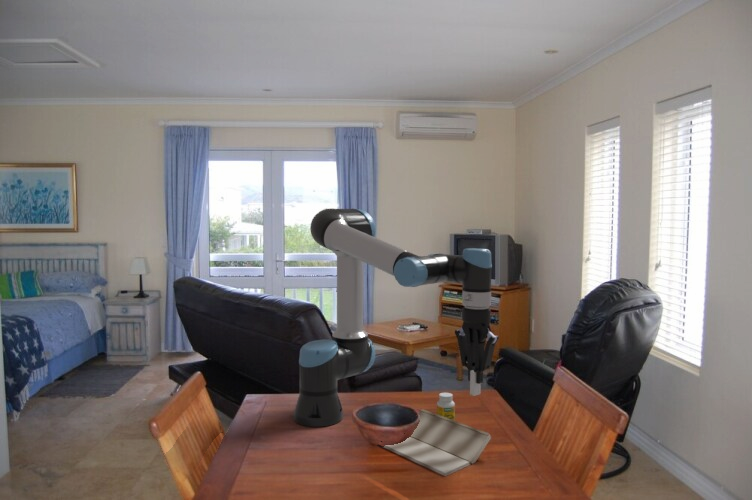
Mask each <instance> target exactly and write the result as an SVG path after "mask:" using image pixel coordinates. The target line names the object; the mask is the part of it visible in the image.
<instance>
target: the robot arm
mask: <svg viewBox="0 0 752 500" xmlns="http://www.w3.org/2000/svg"><path fill="white" fill-rule="evenodd" d="M309 229H310V230H309V231H310V234H311V237H312V239H313V240H314V241H315V242H316V244H318V245H319V246H321V247H323V248H325V249H327V250H329V251H332V252H333V253H334V254H335V256H336V329H335V331H333V332H332V337H331V338H332V339H329V338H327V339H324V338H322V339H315V340H313V341H308V342H306V343H305V344H303V345H302V346H301V347H300V350H299V358H298V365H299V367H298V368H299V395H298V398H297V400H296V404H295V408H294V410H293V421H294V422H295V423H297V424H298V425H301V426H306V427H311V428H312V427H315V428H320V427H328V426H331V425H335V424H338V423H339V422H341V421H342V420H343V418H344V409H343V406H342V403H341V400H340V397H339V393H338V381H340V380H342V379H346V378H349V377H353V376H358V375H361V374H363V373H365V372H367V371H368V370H369V369H371V367H372V366H373V365H374V363H375V359H376V348H375V345H374V344H373V341H372V340H371V339H370V338H369V333H368V332H367V331H366V330H364V263H365V264H368V265H370V266H371V267H373V268H376V269H378V270H381V271H382V272H384V273H386V274H389V275H391V276H393V277H394V279H395V281H396V282H397V283H398V284H399V285H400V286H402V287H404V288H405V287H406V288H416V287H420V286H426V285H434V284H439V283H440V284H441V283H457V284H461V286H462V287H461V288H462V293H461V294H462V298H461V299H462V301H461V302H462V303H461V304H462V306H463V307H462V308H461V320H462V321H463V322H462V325H461V327H460V328H459V329H454V335H455V336H456V339H457V343H458V344H457V345H458V348H459V349H458V350H459V354H460V355H459V356H460V360H461V361H460V362H461V366H462V367H465V368H467V370H468V371H467V372H468V373H467V379H468V382H469V396H472V397H475V396H478V395H481V394H482V393H481V391H482V389H481V388H482V387H481V386H482V384H483V382H484V371H488V370H490V368H491V364H492V360H493V356H494V351H495V347H496V344H497V343H498V342H499V339H500V337H499V335H497V334H496V335H495V334H494V333H493V332H492V328H491V326H490V325H491V324H490V323H491V321H492V318H491V317H492V310H491V306H492V267H493V264H492V252H491V250H490V249H488V248H476V247H475V248H472V247H471V248H469V247H468V248H464V249H463V250H462V254H461V255H458V254H445V253H431V254H428V255H424V256H422V255H421V256H420V255H417V254H415V253H413V252H410V251H408V250H405V249H403V248H401V247H398V246H396V245H393V244H391V243H389V242H386V241H385V240H382V239H380V238H377V237H375V236H376V231H377V230H376V224H375V220H374V219H373V217H372V216H371V215H370V213H368V212H367V211H365V210H363V209H357V208H324V209H322V210H320V211H318V212H317V213H316V214H315V215H314V216H313V218H312V219H311V223H310V228H309Z"/></svg>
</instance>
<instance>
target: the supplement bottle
mask: <svg viewBox="0 0 752 500" xmlns="http://www.w3.org/2000/svg"><path fill="white" fill-rule="evenodd" d="M453 397H454V395H453V393H451V392H441V393H439V394H438V399H439V400H438V401H437V402H436V414H438V415H440V416H443V417H446V418H449V419H451V420H454V421H456V419H455V418H456V417H455V416H456V413H455V412H456V403H455V402H454V400H453Z"/></svg>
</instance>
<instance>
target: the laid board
mask: <svg viewBox="0 0 752 500" xmlns="http://www.w3.org/2000/svg"><path fill="white" fill-rule="evenodd" d="M383 448H384V449H386V450H388V451H390V452H392V453H395V454H397V455H399V456H401V457H403V458H405V459H408V460H410V461H412V462H414V463H416V464H418V465H420V466H423V467H424V468H427V469H429V470H431V471H433V472H435V473H437V474H439V475H442V476H444V477H447V476H450V475H451V474H453V473H455V472H458V471H460V470H462V469H464V468H466V467H468V466H470V465H472V463H469V462H468V461H466V460H463V459H461V458H459V457H456V456H454V455H452V454H449V453H447V452H445V451H442V450H440V449H437V448H435V447H433V446H430V445H428V444H426V443H423V442H421V441H419V440H416V439H414V438H412V437H409V438H407V439H406V440H405V441H403V442H401V443H398V444H394V445H385V446H384V447H383Z"/></svg>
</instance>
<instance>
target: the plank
mask: <svg viewBox="0 0 752 500" xmlns="http://www.w3.org/2000/svg"><path fill="white" fill-rule="evenodd" d="M418 414H419V415H420V422H419V424H418V426H417V428H416V429H415V430H414V432H413V434H412V435H411V437H412V438H414V439H416V440H419V441H421V442H423V443H426V444H428V445H430V446H433V447H435V448H437V449H440V450H442V451H445V452H447V453H449V454H452V455H454V456H456V457H459V458H461V459H463V460H466V461H468V462H469V463H470V464H471V465H472V464H475V463H476V462H477V460H478V459H479V457H480V456H481V454H482V453H483V451H484V450H485V448H486V447H487V445H488V443H489V442H490V440H491V439H492V436H491V434H490V433H489V432H486V431H484V430H481V429H478V428H475V427H473V426H470V425H468V424H465V423H462V422H460V421H456V420H455V421H454V420H451V419H449V418H446V417H443V416H440V415H438V414H437V413H434V412H431V411H429V410H426V409H423V408H420V410H419V412H418V413H417V415H418Z"/></svg>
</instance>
